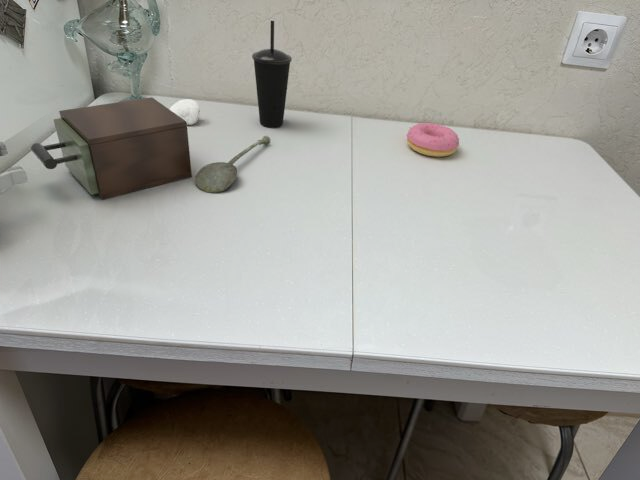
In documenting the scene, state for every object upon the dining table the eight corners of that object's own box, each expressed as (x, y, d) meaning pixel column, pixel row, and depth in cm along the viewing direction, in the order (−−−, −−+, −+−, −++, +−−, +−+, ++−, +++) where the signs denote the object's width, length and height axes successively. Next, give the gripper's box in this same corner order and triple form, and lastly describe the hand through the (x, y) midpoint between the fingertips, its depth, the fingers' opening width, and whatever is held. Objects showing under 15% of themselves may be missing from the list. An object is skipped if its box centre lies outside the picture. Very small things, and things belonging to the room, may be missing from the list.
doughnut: (404, 155, 98) (408, 135, 96) (405, 134, 107) (408, 116, 105) (458, 163, 98) (463, 143, 96) (454, 141, 107) (459, 123, 105)
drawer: (59, 203, 70) (44, 152, 66) (35, 172, 76) (20, 124, 72) (176, 173, 81) (171, 128, 76) (147, 149, 87) (141, 105, 82)
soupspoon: (187, 190, 80) (223, 201, 79) (185, 171, 78) (222, 183, 77) (252, 139, 96) (282, 148, 95) (252, 123, 94) (283, 132, 93)
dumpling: (207, 121, 102) (206, 105, 99) (191, 133, 99) (190, 117, 96) (179, 107, 103) (177, 91, 100) (162, 119, 100) (160, 102, 97)
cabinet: (102, 199, 74) (88, 139, 68) (73, 168, 80) (58, 110, 75) (192, 176, 82) (186, 121, 77) (159, 149, 89) (152, 97, 83)
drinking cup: (246, 125, 102) (244, 20, 90) (263, 114, 108) (263, 14, 96) (279, 133, 100) (281, 28, 89) (295, 121, 106) (299, 21, 94)
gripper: (-112, 198, 53) (31, 169, 61) (-135, 131, 64) (-12, 114, 72) (-87, 246, 57) (45, 212, 65) (-113, 174, 68) (2, 153, 76)
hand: (15, 160), depth 69 cm, fingers open, 8 cm apart
